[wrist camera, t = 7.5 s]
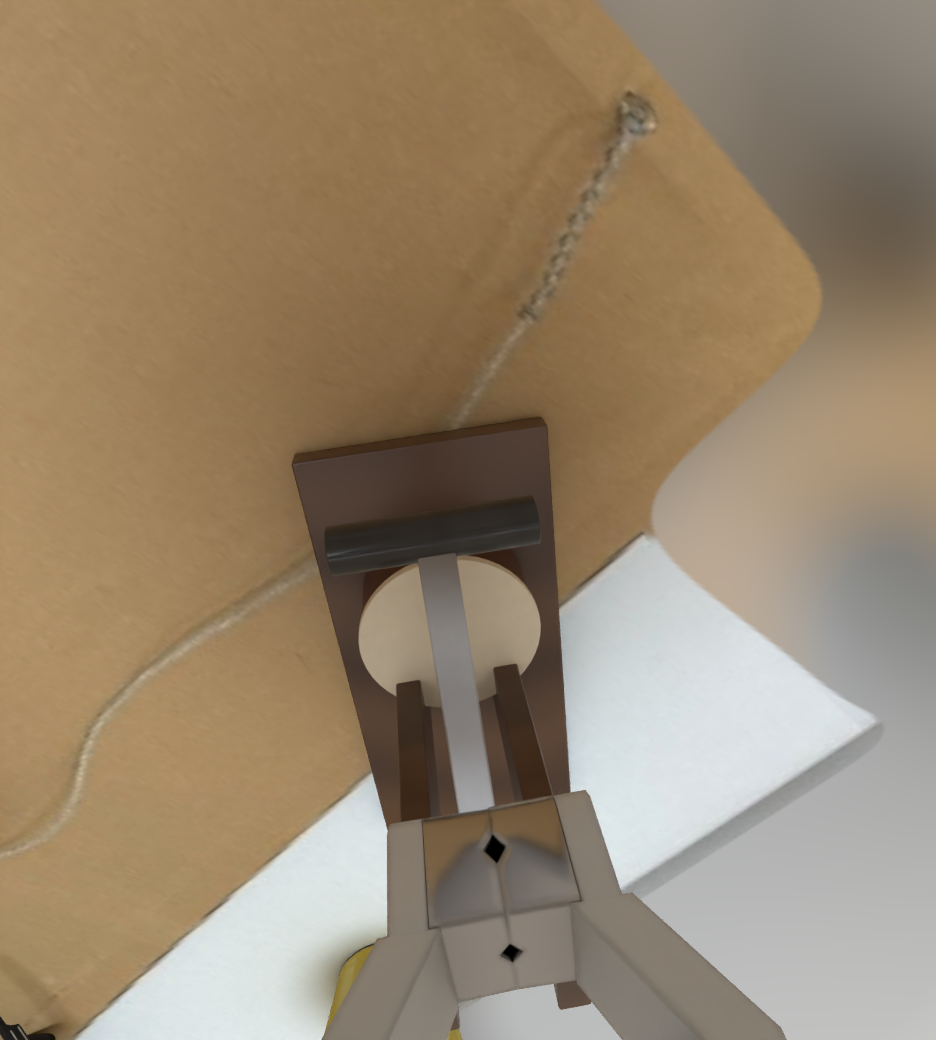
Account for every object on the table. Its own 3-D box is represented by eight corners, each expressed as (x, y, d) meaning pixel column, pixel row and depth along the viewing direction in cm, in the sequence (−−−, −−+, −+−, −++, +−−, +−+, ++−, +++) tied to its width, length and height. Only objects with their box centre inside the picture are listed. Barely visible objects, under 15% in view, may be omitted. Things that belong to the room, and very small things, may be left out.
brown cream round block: (414, 490, 27) (418, 529, 24) (557, 564, 29) (576, 606, 27) (330, 621, 29) (325, 670, 27) (469, 679, 32) (478, 729, 29)
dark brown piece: (293, 454, 27) (212, 729, 14) (542, 416, 27) (691, 647, 14) (388, 821, 37) (393, 1175, 24) (566, 789, 38) (665, 1120, 25)
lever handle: (330, 522, 20) (318, 532, 18) (526, 491, 21) (539, 497, 18) (405, 948, 22) (403, 1010, 20) (586, 915, 22) (605, 971, 20)
